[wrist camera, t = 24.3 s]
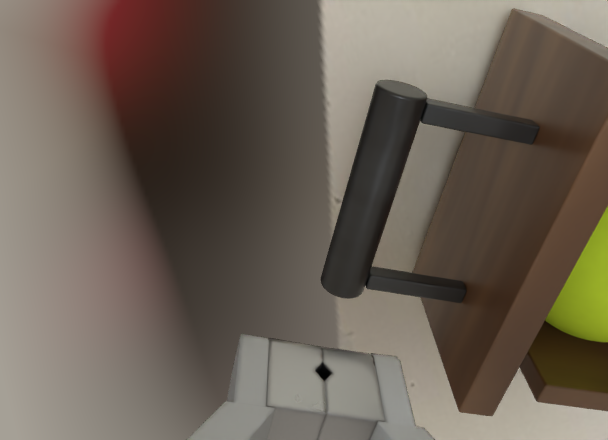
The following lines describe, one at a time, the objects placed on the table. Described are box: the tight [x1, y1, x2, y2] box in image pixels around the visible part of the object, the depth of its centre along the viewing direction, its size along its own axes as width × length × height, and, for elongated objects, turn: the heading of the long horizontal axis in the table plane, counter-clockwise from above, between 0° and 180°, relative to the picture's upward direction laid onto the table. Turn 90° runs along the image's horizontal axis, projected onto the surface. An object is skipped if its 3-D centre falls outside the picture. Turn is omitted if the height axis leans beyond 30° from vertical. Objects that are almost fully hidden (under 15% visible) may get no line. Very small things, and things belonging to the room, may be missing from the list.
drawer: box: [321, 9, 608, 416], centre depth 20 cm, size 18×11×8 cm, turn 78°
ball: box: [545, 206, 608, 342], centre depth 20 cm, size 6×6×6 cm
